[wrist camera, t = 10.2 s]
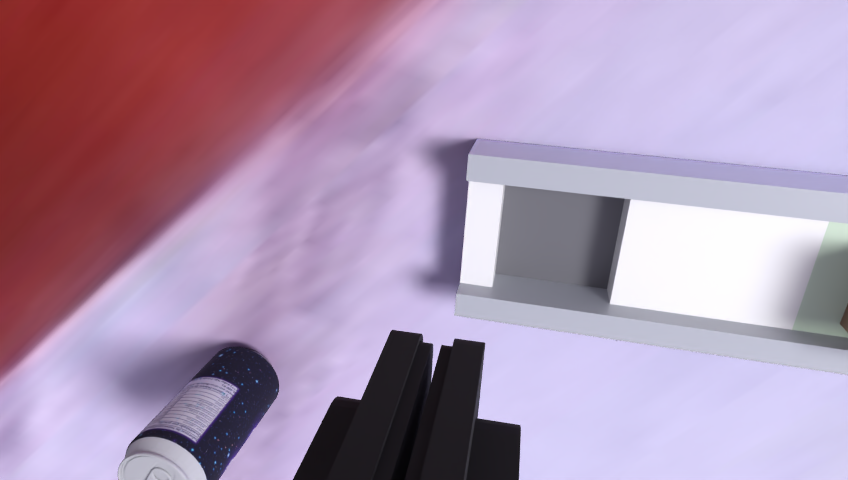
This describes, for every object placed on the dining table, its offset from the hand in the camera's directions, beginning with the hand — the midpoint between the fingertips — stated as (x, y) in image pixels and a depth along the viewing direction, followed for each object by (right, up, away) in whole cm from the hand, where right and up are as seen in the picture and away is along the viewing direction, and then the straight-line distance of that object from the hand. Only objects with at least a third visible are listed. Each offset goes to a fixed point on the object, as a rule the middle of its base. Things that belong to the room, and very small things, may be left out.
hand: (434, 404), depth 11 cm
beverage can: (-14, -7, +35) cm, 39 cm away
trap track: (+20, +2, +24) cm, 31 cm away
